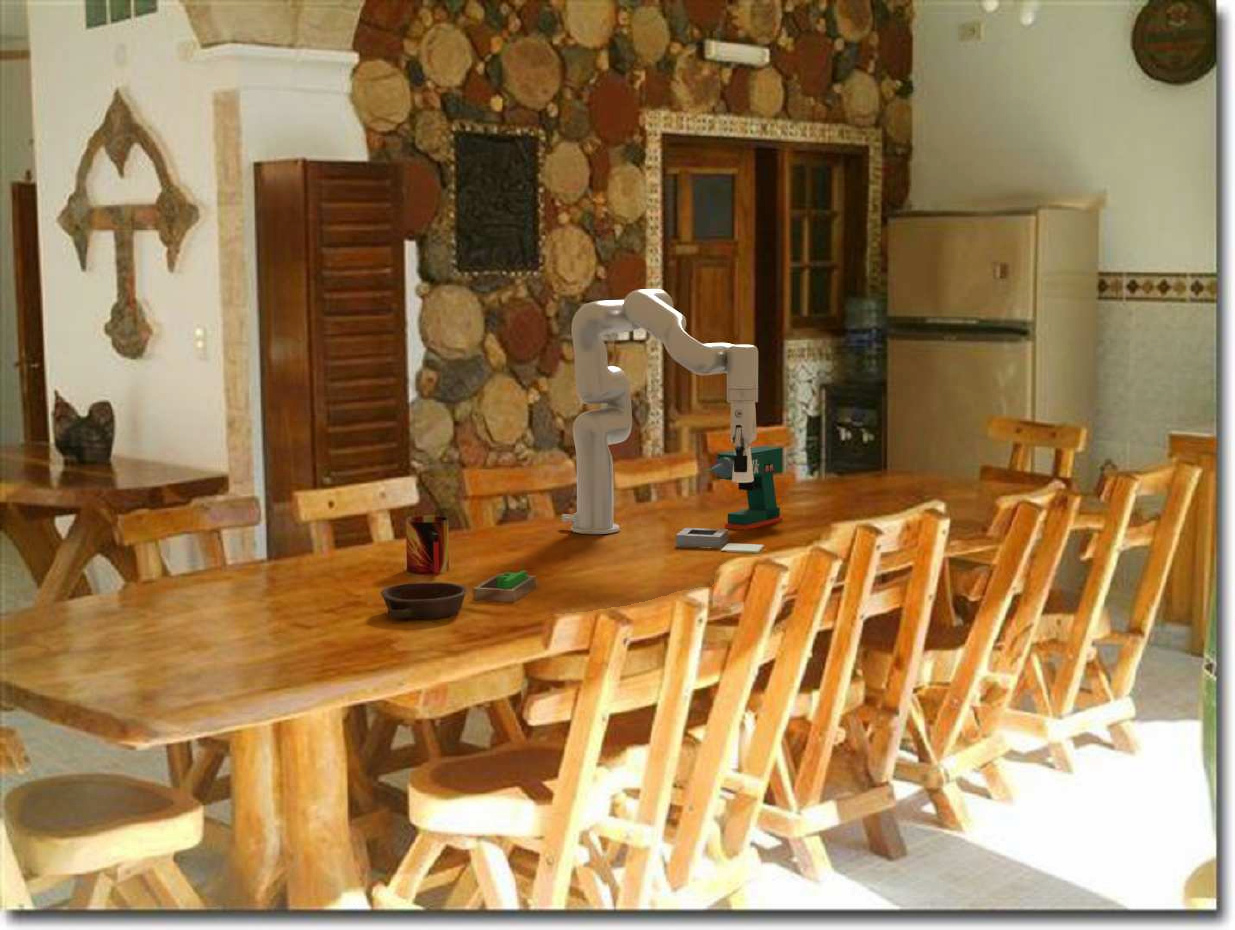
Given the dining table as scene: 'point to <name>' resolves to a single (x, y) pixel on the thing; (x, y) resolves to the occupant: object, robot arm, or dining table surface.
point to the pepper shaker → (747, 476)
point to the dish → (423, 600)
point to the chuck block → (702, 537)
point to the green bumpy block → (511, 580)
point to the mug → (427, 544)
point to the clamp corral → (502, 590)
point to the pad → (742, 548)
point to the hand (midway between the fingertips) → (742, 470)
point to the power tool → (754, 487)
